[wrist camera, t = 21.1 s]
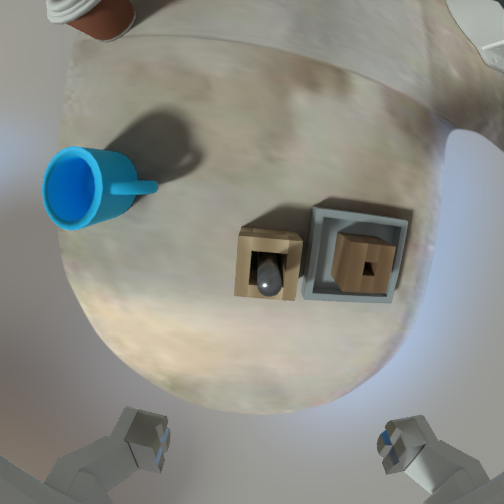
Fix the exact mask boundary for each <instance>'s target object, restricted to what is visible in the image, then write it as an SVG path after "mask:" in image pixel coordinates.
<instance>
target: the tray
mask: <svg viewBox="0 0 504 504" xmlns="http://www.w3.org/2000/svg"><path fill="white" fill-rule="evenodd" d="M407 226H408V221H407V220H404V219H401V218H396V217H389V216H383V215H376V214H369V213H362V212H355V211H348V210H340V209H332V208H324V207H315V206H313V208H312V217H311V225H310V233H309V241H308V249H307V256H306V263H305V270H304V277H303V284H302V290H301V292H302V295H303V298H304V299H305V300H322V301H340V302H363V303H391V302H392V298H393V294H394V290H395V286H396V282H397V278H398V273H399V269H400V264H401V259H402V254H403V249H404V244H405V238H406V232H407ZM337 232H342V233H351V234H360V235H368V236H376V237H379V238H381V239H383V240H384V241H386V242H388V243H390V244H392V245H394V246H395V247H396V249H395V254H394V260H393V264H392V269H391V274H390V278H389V283H388V287H387V291H386V294H383V293H362V292H344V291H342V290H341V289H340V287H339V286H338V285H337V283H336V282H335V280H334V279H333V278H332V276H331V269H332V263H333V257H334V251H335V244H336V237H337Z"/></svg>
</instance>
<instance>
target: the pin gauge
mask: <svg viewBox="0 0 504 504" xmlns="http://www.w3.org/2000/svg"><path fill="white" fill-rule="evenodd" d="M257 287H258V290H259V292H260V293H261V294H262V295H264V296H267V297H272V296H275V295H277V294H278V293H279V292H280V290H281V288H282V282H281V277H280V272H279V268H278V263H277V258H276V254H275V253H272V252H261V251H259V253H258V278H257Z"/></svg>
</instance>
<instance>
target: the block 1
mask: <svg viewBox="0 0 504 504" xmlns="http://www.w3.org/2000/svg"><path fill="white" fill-rule="evenodd" d="M302 247H303V241H302V239H301V238H300V236H299V235H298V234H297V232H294V231H283V230H273V229H262V228H250V227H241V230H240V233H239V236H238V249H237V263H236V277H235V292H234V296H241V297H253V298H265V299H277V300H291V301H295V297H296V290H297V283H298V276H299V269H300V262H301V254H302ZM252 251H261V252H272V253H282V258H281V267H280V271H279V272H280V277H281V282H282V288H281V290H280V292H279V293H278V294H277V295H275V296H272V297H267V296H264V295H262V294H261V293H260V292H259V290H258V287H257V278H258V269H250V264H251V252H252Z"/></svg>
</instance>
